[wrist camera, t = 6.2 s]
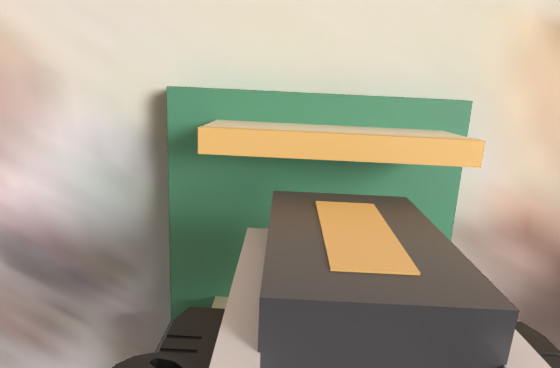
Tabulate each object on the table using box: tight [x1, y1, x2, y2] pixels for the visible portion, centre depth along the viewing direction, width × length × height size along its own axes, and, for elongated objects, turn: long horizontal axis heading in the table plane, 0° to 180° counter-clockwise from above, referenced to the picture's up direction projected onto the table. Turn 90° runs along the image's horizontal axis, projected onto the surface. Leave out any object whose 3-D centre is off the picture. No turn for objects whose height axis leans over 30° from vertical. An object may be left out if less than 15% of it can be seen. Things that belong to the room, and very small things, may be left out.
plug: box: [258, 191, 519, 368], centre depth 10 cm, size 4×4×6 cm
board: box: [155, 86, 485, 353], centre depth 16 cm, size 17×12×5 cm
